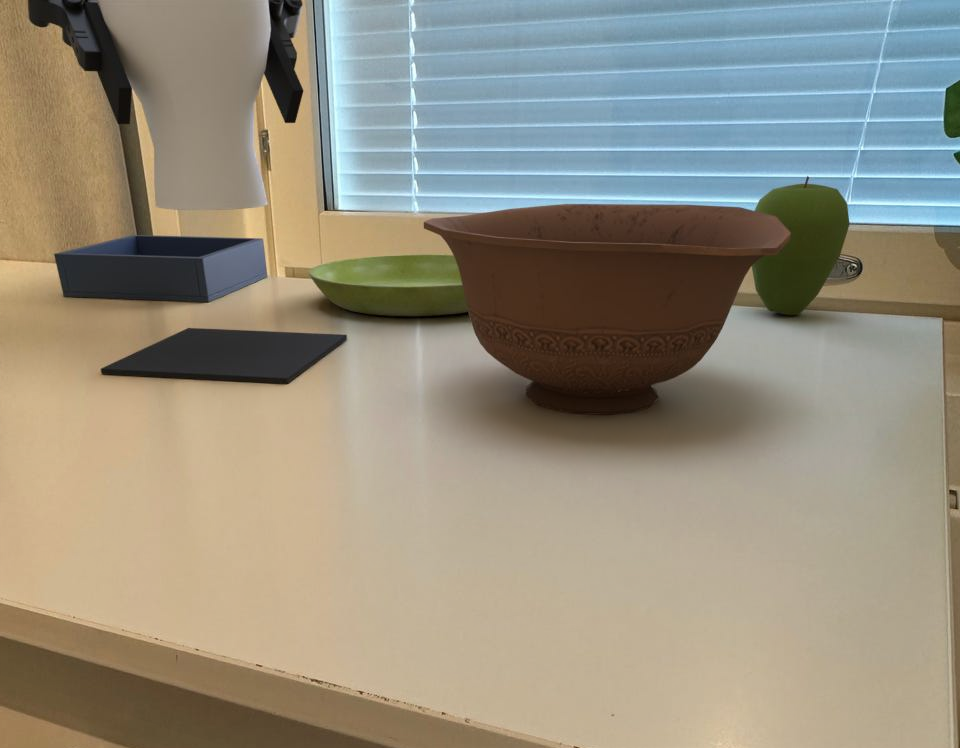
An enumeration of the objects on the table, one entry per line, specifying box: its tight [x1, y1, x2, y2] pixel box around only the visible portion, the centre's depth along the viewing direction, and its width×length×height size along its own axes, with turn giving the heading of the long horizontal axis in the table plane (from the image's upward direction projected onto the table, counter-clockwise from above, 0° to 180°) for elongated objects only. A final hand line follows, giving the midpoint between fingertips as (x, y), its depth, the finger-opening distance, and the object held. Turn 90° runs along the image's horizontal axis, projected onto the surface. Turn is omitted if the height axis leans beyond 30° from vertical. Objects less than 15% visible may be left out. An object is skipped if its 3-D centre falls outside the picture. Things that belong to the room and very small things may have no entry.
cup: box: [96, 0, 271, 211], centre depth 59 cm, size 11×11×15 cm
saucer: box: [308, 253, 469, 317], centre depth 86 cm, size 21×21×3 cm
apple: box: [751, 175, 851, 316], centre depth 80 cm, size 9×8×12 cm
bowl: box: [423, 203, 791, 415], centre depth 56 cm, size 22×22×11 cm
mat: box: [100, 327, 348, 385], centre depth 68 cm, size 14×14×1 cm
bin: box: [53, 234, 269, 303], centre depth 94 cm, size 16×16×4 cm
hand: (213, 107), depth 58 cm, fingers closed on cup, 11 cm apart
